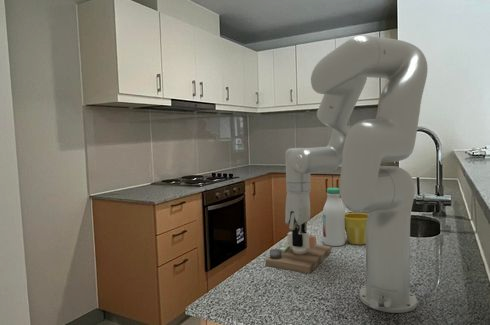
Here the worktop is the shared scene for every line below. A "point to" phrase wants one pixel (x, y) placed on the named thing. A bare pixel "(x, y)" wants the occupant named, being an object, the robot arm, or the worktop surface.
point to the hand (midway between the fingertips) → (299, 244)
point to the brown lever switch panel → (297, 258)
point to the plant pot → (356, 227)
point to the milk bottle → (333, 219)
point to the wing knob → (307, 243)
